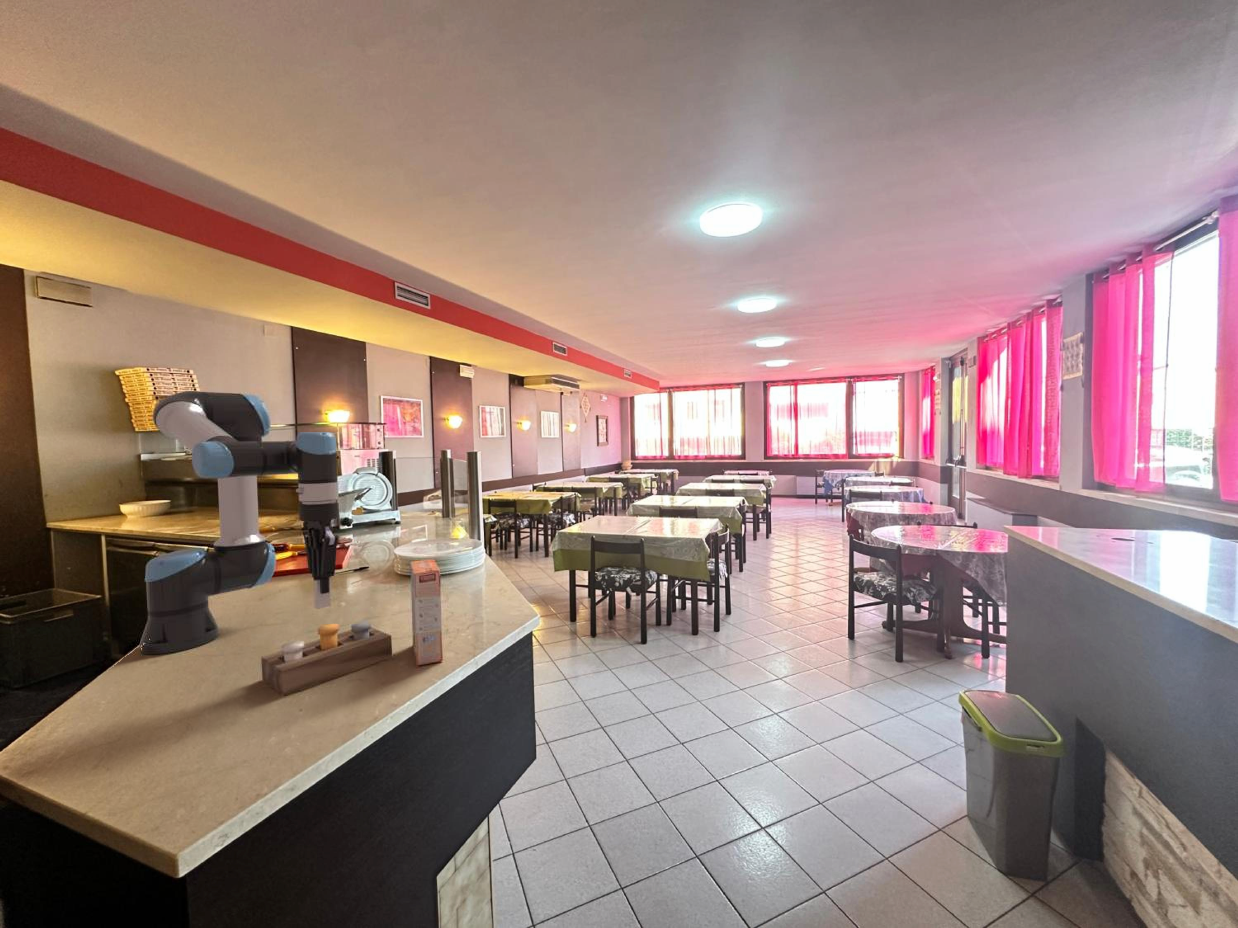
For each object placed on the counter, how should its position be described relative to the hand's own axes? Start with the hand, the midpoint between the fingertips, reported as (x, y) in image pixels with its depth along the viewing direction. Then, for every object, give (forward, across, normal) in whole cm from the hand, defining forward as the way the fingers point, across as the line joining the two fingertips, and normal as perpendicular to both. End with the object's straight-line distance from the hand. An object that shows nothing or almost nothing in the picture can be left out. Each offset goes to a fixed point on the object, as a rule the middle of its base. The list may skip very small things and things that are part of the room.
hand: (322, 606), depth 111 cm
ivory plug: (+13, +3, -7) cm, 15 cm away
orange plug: (+11, +3, 0) cm, 11 cm away
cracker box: (+13, +14, +17) cm, 26 cm away
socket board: (+13, +3, 0) cm, 14 cm away
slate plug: (+13, +3, +7) cm, 15 cm away
